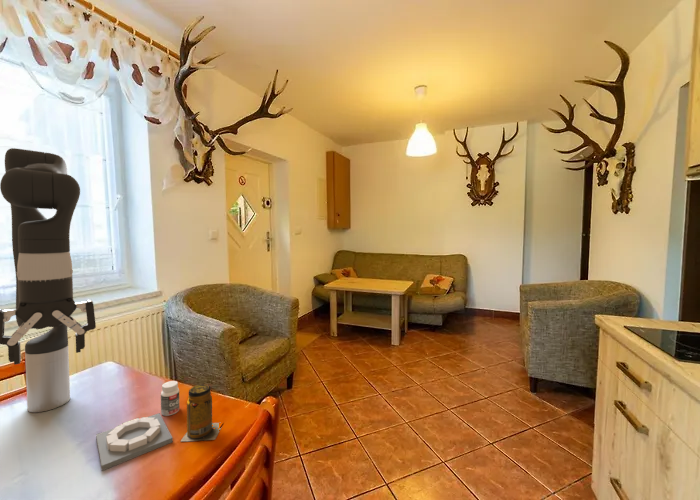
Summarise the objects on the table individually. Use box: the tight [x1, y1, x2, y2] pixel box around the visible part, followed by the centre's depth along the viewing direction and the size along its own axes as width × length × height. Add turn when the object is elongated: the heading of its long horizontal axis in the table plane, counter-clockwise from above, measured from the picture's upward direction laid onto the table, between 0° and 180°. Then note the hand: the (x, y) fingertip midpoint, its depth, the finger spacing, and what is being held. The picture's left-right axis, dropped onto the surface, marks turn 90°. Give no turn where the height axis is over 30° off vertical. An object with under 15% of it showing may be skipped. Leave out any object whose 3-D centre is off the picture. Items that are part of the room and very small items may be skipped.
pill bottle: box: [160, 380, 180, 417], centre depth 90 cm, size 5×5×8 cm
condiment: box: [180, 383, 222, 442], centre depth 81 cm, size 7×8×12 cm
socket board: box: [95, 412, 174, 472], centre depth 78 cm, size 14×14×3 cm
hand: (49, 356), depth 60 cm, fingers open, 8 cm apart
